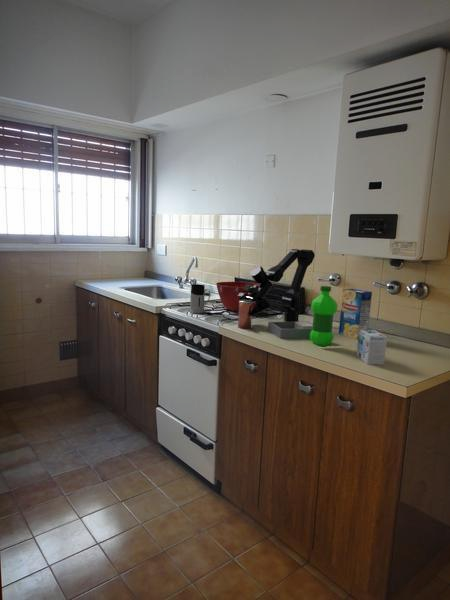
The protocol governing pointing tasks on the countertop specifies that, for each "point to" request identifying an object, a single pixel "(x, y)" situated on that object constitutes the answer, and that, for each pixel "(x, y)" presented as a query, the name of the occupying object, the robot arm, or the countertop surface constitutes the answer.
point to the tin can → (245, 314)
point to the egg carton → (303, 325)
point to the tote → (288, 330)
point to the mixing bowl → (232, 293)
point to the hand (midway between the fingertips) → (243, 313)
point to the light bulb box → (371, 347)
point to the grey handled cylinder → (197, 298)
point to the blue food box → (354, 312)
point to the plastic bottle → (323, 317)
